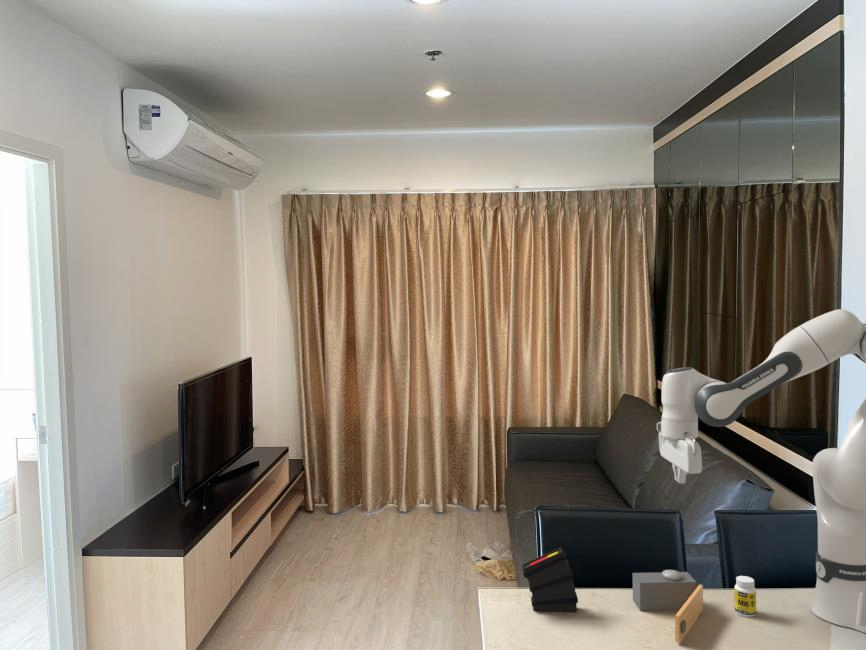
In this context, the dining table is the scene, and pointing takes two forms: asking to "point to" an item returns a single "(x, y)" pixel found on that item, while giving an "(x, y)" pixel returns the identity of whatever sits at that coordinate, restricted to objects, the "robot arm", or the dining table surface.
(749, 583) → the supplement bottle
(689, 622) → the side door
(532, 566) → the magazine
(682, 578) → the block
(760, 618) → the dining table surface
